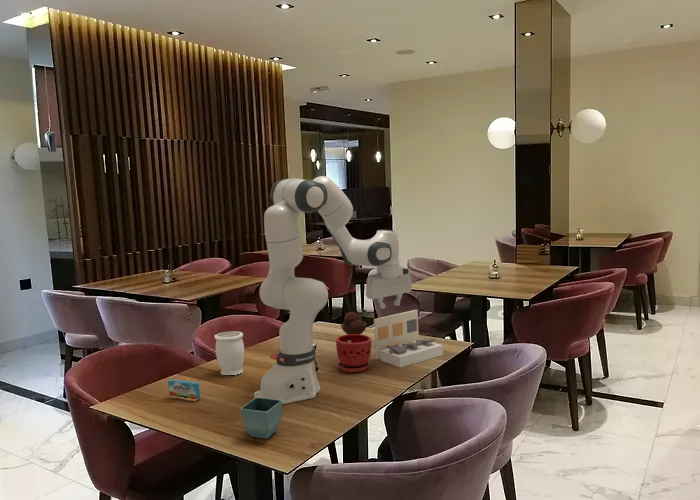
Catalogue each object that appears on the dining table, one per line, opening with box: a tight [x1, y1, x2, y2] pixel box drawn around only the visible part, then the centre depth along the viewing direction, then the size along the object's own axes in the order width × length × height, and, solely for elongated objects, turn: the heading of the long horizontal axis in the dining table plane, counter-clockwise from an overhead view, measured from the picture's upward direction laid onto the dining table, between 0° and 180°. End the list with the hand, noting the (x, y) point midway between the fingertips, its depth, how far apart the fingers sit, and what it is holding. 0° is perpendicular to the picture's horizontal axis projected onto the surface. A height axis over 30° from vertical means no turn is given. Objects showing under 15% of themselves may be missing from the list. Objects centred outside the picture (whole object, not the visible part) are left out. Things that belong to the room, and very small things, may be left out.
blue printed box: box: [167, 378, 201, 399], centre depth 187 cm, size 12×2×6 cm, turn 65°
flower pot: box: [240, 397, 283, 440], centre depth 156 cm, size 9×9×9 cm
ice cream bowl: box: [340, 311, 368, 343], centre depth 239 cm, size 11×11×15 cm
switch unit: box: [373, 309, 444, 369], centre depth 219 cm, size 22×15×16 cm
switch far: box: [416, 337, 436, 343], centre depth 223 cm, size 4×7×1 cm, turn 35°
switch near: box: [387, 343, 407, 354], centre depth 214 cm, size 4×7×1 cm, turn 35°
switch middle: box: [402, 342, 421, 347], centre depth 218 cm, size 4×7×1 cm, turn 35°
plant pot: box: [335, 334, 372, 373], centre depth 209 cm, size 13×13×12 cm
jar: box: [214, 330, 245, 376], centre depth 211 cm, size 11×10×15 cm
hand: (390, 306), depth 215 cm, fingers open, 6 cm apart
